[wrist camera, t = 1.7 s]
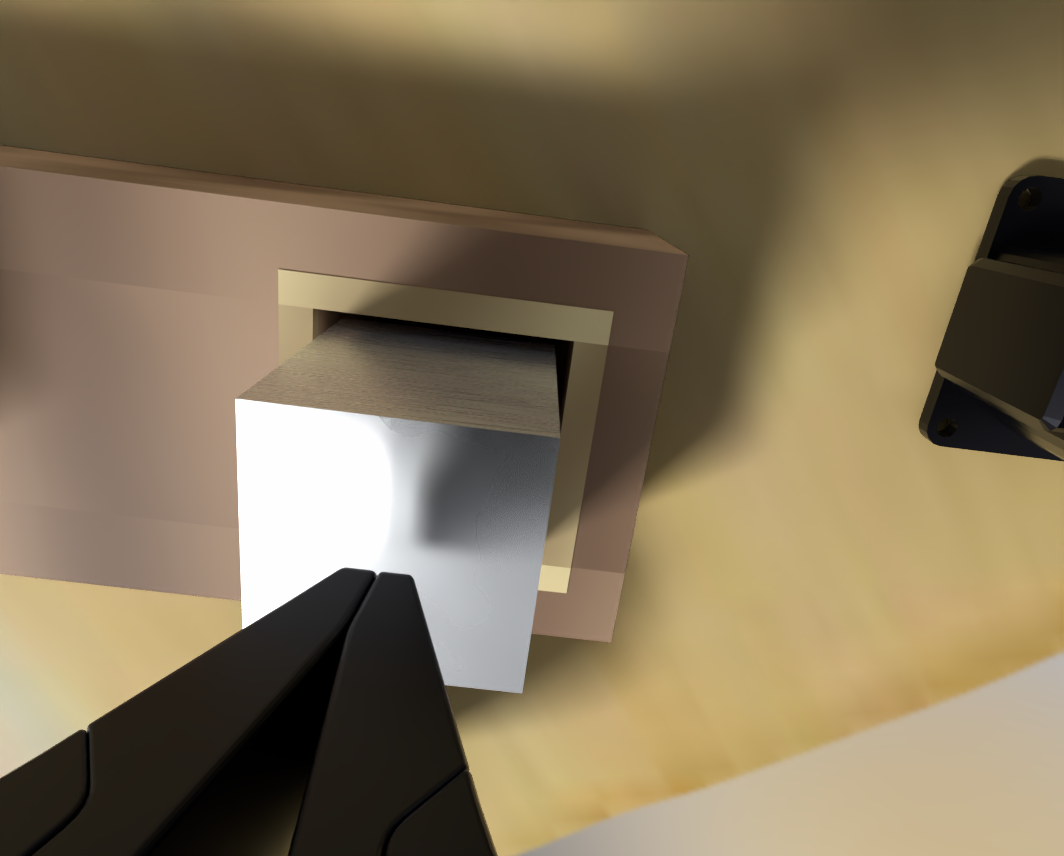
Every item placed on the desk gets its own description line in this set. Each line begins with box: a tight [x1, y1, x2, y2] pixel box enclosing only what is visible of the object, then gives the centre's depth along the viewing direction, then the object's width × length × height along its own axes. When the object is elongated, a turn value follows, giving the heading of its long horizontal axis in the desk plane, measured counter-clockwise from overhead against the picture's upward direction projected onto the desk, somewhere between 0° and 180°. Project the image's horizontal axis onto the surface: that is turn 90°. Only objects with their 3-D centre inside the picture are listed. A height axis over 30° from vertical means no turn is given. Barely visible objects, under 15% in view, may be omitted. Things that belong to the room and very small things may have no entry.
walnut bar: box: [0, 145, 689, 643], centre depth 15 cm, size 20×8×5 cm, turn 83°
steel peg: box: [235, 318, 560, 693], centre depth 11 cm, size 4×4×5 cm
